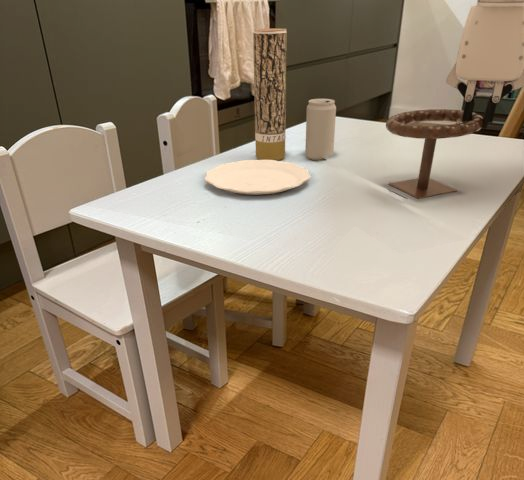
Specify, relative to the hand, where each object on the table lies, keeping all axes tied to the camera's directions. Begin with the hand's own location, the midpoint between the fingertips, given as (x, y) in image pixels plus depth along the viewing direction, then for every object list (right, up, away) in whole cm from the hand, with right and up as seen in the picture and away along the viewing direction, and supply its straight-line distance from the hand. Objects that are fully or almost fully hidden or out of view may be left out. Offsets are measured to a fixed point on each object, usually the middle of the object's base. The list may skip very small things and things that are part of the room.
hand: (475, 125), depth 85 cm
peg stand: (-6, -9, +9) cm, 14 cm away
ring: (-7, +1, +2) cm, 7 cm away
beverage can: (-23, +6, +30) cm, 38 cm away
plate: (-37, -5, +16) cm, 41 cm away
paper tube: (-35, +6, +30) cm, 46 cm away
